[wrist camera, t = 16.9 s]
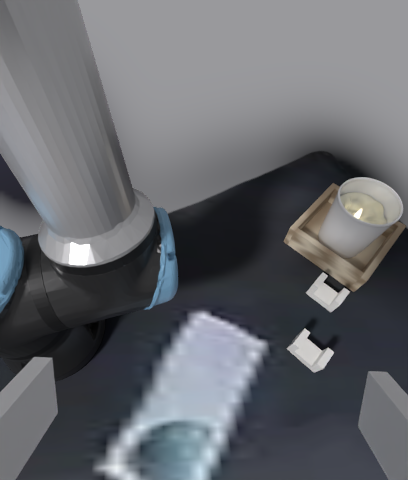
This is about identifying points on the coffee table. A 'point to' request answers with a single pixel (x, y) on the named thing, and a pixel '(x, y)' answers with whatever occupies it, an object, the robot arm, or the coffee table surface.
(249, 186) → the coffee table surface
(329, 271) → the square wooden tray
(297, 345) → the clips
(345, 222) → the candle holder
